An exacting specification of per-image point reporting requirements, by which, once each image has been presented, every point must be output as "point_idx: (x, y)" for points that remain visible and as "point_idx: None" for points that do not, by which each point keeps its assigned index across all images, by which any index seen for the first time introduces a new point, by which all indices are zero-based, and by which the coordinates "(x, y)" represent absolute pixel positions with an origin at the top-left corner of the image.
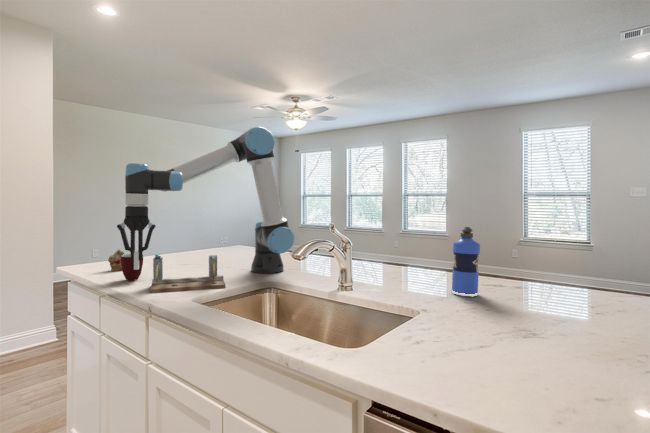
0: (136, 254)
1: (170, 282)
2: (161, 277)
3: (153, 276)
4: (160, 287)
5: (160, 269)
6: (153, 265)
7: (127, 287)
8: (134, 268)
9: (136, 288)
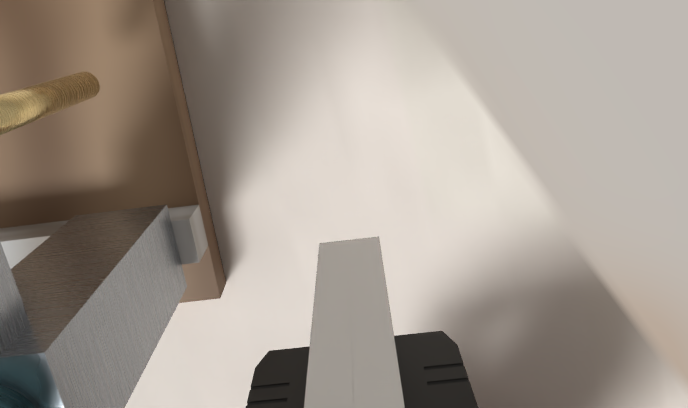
0: (345, 388)
1: (19, 227)
2: (72, 224)
3: (153, 221)
4: (55, 33)
5: (31, 267)
6: (96, 289)
7: (439, 227)
8: (371, 246)
9: (346, 174)
